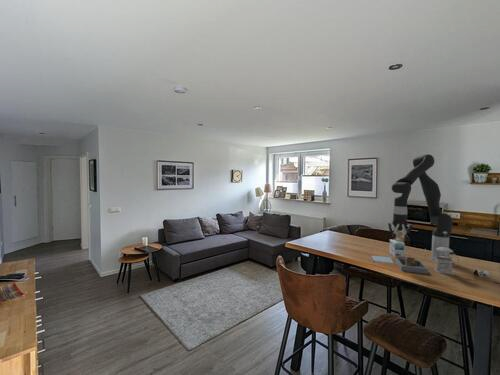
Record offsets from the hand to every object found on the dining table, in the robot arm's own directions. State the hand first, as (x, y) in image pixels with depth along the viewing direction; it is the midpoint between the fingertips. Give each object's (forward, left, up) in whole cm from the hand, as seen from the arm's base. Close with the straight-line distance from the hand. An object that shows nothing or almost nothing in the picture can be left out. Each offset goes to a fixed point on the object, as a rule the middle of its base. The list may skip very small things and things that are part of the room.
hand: (399, 239), depth 154 cm
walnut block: (-7, -1, -17) cm, 18 cm away
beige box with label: (0, 0, -1) cm, 1 cm away
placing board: (+8, -8, -17) cm, 21 cm away
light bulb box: (-4, -23, -18) cm, 29 cm away
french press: (-25, +2, -18) cm, 30 cm away
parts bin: (-7, +3, -17) cm, 19 cm away
